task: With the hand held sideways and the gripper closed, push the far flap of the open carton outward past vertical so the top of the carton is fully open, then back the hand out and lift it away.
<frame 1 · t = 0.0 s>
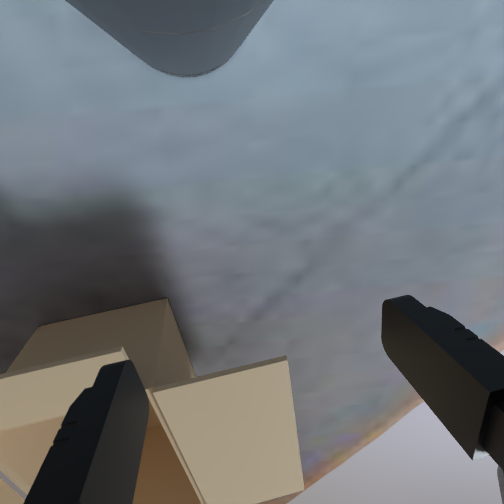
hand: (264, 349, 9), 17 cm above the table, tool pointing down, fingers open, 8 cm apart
carton: (136, 375, 32), on the table
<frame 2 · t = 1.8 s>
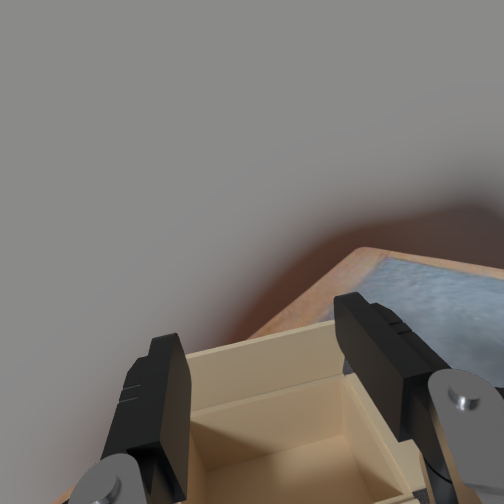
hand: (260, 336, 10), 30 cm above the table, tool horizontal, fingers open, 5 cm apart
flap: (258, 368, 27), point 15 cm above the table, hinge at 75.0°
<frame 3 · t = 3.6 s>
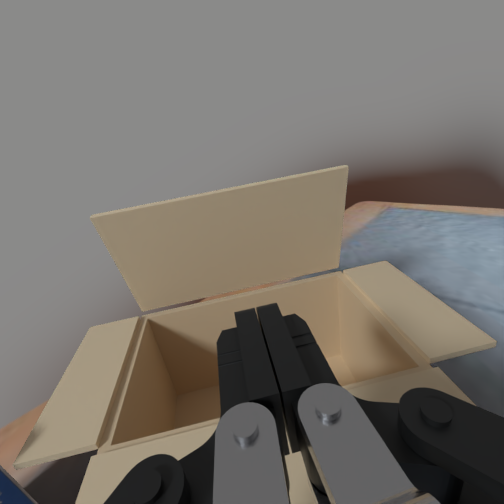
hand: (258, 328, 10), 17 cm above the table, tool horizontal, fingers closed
carton: (273, 429, 24), on the table
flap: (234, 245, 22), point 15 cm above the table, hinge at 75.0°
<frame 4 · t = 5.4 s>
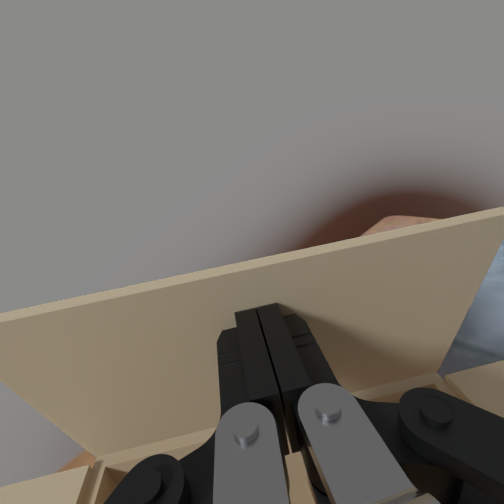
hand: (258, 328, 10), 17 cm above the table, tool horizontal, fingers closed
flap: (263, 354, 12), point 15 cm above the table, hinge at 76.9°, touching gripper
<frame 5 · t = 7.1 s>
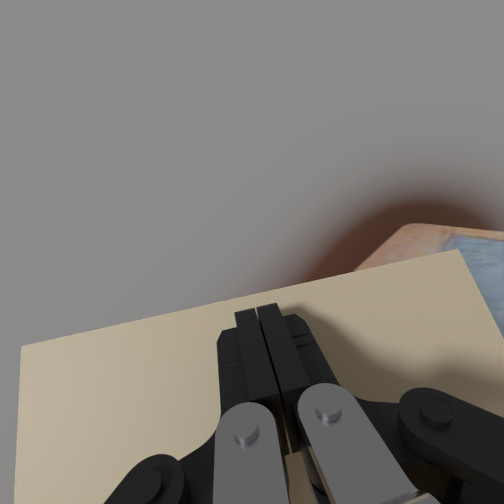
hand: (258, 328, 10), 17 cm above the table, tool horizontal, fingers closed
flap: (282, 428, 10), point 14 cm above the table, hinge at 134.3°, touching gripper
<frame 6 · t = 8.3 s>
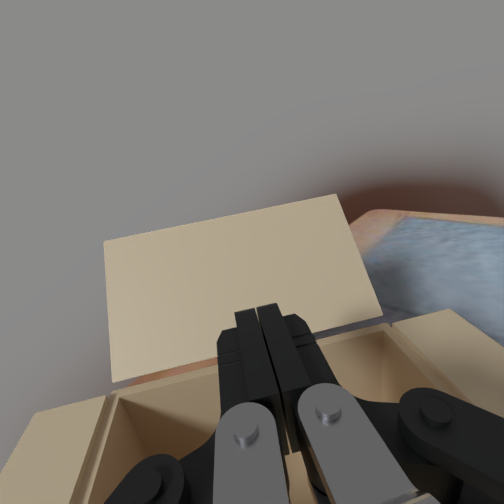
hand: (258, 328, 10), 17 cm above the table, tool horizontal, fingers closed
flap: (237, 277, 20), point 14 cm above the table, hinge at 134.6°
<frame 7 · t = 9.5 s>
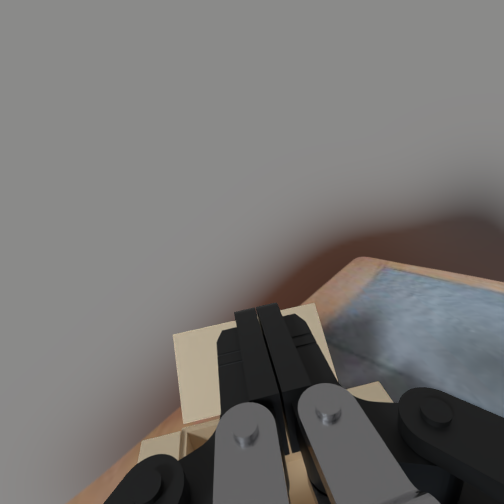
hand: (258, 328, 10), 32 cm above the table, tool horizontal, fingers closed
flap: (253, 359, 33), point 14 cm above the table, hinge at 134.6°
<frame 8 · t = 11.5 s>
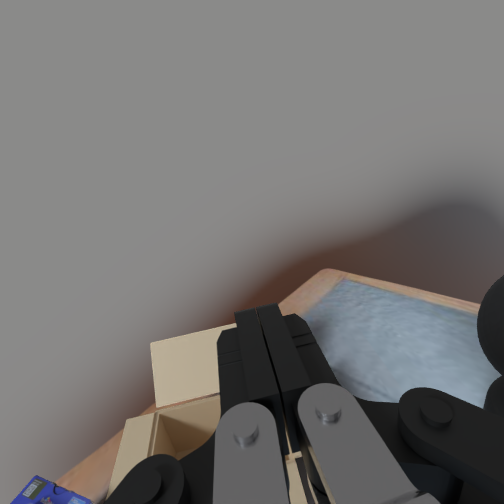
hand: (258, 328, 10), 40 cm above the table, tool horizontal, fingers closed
carton: (231, 477, 42), on the table
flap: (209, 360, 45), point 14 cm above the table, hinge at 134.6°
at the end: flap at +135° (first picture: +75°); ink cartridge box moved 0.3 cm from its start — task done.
